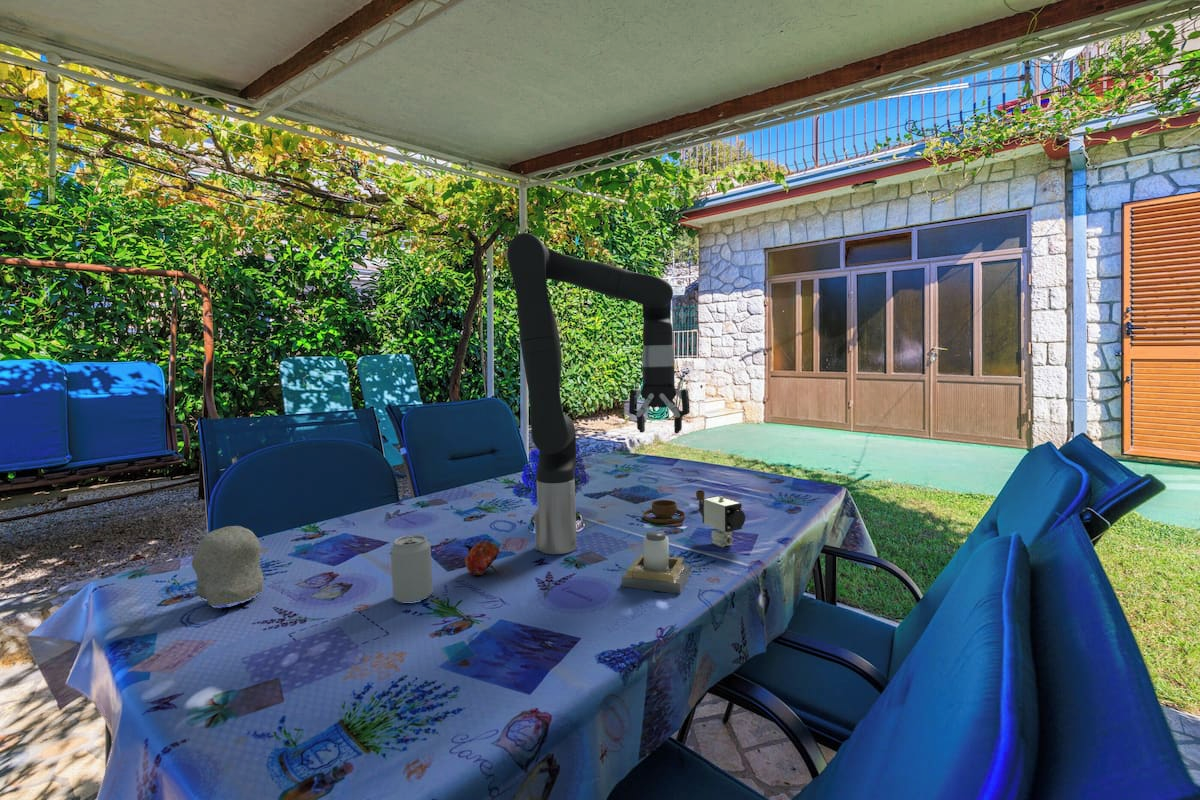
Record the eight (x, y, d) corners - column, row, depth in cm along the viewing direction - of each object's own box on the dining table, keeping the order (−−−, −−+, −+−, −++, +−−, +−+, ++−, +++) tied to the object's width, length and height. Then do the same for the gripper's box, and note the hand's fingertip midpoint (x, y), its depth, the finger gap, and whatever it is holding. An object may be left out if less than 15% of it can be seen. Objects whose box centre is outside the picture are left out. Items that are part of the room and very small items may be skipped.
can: (391, 608, 108) (388, 547, 107) (394, 592, 115) (391, 535, 114) (432, 602, 110) (429, 542, 109) (433, 587, 117) (430, 531, 116)
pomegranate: (502, 577, 127) (470, 547, 129) (517, 555, 125) (484, 525, 126) (483, 593, 121) (450, 562, 123) (498, 571, 118) (464, 539, 120)
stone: (272, 598, 114) (267, 525, 112) (213, 621, 104) (206, 541, 103) (242, 587, 119) (236, 518, 118) (183, 608, 110) (177, 533, 109)
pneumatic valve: (731, 553, 132) (730, 503, 131) (698, 539, 142) (698, 493, 141) (748, 549, 135) (748, 499, 134) (715, 535, 145) (715, 489, 144)
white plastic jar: (641, 574, 116) (640, 536, 115) (647, 565, 121) (646, 529, 120) (666, 576, 114) (665, 538, 114) (671, 567, 119) (670, 531, 118)
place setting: (638, 512, 170) (637, 492, 170) (703, 508, 172) (703, 489, 172) (649, 529, 153) (649, 508, 152) (721, 525, 155) (721, 504, 154)
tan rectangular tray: (621, 586, 115) (621, 569, 115) (635, 568, 124) (635, 553, 124) (680, 593, 111) (679, 576, 110) (690, 574, 120) (689, 558, 120)
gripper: (624, 365, 133) (626, 434, 134) (684, 364, 128) (685, 435, 129) (634, 364, 140) (635, 429, 141) (691, 363, 135) (692, 431, 136)
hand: (659, 432), depth 135 cm, fingers open, 8 cm apart
